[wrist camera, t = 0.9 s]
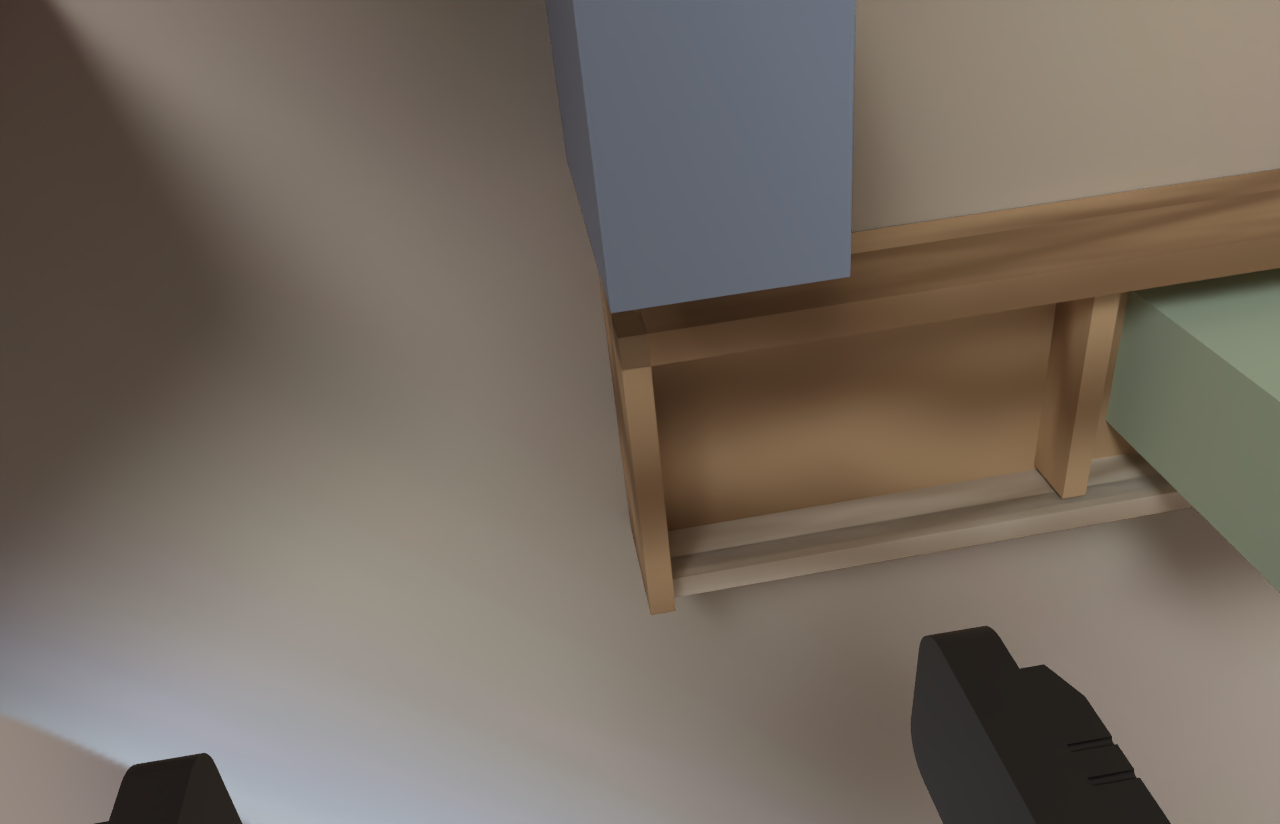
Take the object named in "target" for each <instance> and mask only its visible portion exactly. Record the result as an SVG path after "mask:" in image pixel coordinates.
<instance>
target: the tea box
mask: <svg viewBox="0 0 1280 824" xmlns="http://www.w3.org/2000/svg"><path fill="white" fill-rule="evenodd" d="M545 1H546V9H547V16H548V23H549V31H550V38H551V45H552V53H553V60H554V68H555V75H556V82H557V90H558V97H559V105H560V112H561V119H562V127H563V134H564V142H565V149H566V156H567V162H568V165H569V169H570V172H571V176H572V179H573V183H574V186H575V190H576V193H577V197H578V200H579V204H580V207H581V211H582V214H583V218H584V221H585V225H586V228H587V232H588V235H589V239H590V242H591V246H592V249H593V253H594V256H595V260H596V263H597V267H598V270H599V274H600V277H601V281H602V284H603V288H604V291H605V295H606V298H607V302H608V305H609V309H610V312H611V313H616V312H622V311H629V310H635V309H642V308H649V307H655V306H662V305H668V304H675V303H681V302H688V301H694V300H701V299H707V298H714V297H721V296H727V295H734V294H740V293H747V292H753V291H760V290H766V289H773V288H779V287H786V286H792V285H799V284H806V283H812V282H819V281H825V280H832V279H838V278H845V277H850V268H851V213H852V158H853V103H854V48H855V0H545Z"/></svg>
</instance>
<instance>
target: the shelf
mask: <svg viewBox="0 0 1280 824" xmlns="http://www.w3.org/2000/svg"><path fill="white" fill-rule="evenodd" d="M1276 268H1280V169H1276V170H1269V171H1263V172H1256V173H1249V174H1242V175H1236V176H1229V177H1222V178H1216V179H1209V180H1202V181H1195V182H1189V183H1182V184H1175V185H1169V186H1162V187H1155V188H1148V189H1142V190H1135V191H1128V192H1122V193H1115V194H1108V195H1101V196H1095V197H1088V198H1081V199H1075V200H1068V201H1061V202H1054V203H1048V204H1041V205H1034V206H1027V207H1021V208H1014V209H1007V210H1001V211H994V212H987V213H980V214H974V215H967V216H960V217H954V218H947V219H940V220H933V221H927V222H920V223H913V224H907V225H900V226H893V227H886V228H880V229H873V230H866V231H860V232H853V233H851V268H850V277H845V278H838V279H832V280H825V281H819V282H812V283H806V284H799V285H792V286H786V287H779V288H773V289H766V290H760V291H753V292H747V293H740V294H734V295H727V296H721V297H714V298H707V299H701V300H694V301H688V302H681V303H675V304H668V305H662V306H655V307H649V308H642V309H635V310H629V311H622V312H616V313H611V312H610V309H609V305H608V302H607V298H606V295H605V291H604V288H603V284H602V281H601V277H600V274H599V277H600V285H601V293H602V301H603V309H604V317H605V325H606V332H607V340H608V348H609V356H610V364H611V372H612V380H613V388H614V396H615V404H616V412H617V420H618V428H619V436H620V444H621V452H622V460H623V468H624V476H625V484H626V491H627V499H628V507H629V515H630V523H631V530H632V534H633V539H634V543H635V547H636V552H637V556H638V560H639V565H640V569H641V574H642V578H643V583H644V587H645V592H646V596H647V600H648V604H649V609H650V613H651V615H654V614H660V613H666V612H671V611H676V609H675V599H674V598H676V597H681V596H687V595H693V594H699V593H704V592H710V591H716V590H722V589H727V588H733V587H739V586H744V585H750V584H756V583H762V582H767V581H773V580H779V579H785V578H790V577H796V576H802V575H808V574H813V573H819V572H825V571H830V570H836V569H842V568H848V567H853V566H859V565H865V564H871V563H876V562H882V561H888V560H894V559H899V558H905V557H911V556H917V555H922V554H928V553H934V552H939V551H945V550H951V549H957V548H962V547H968V546H974V545H980V544H985V543H991V542H997V541H1003V540H1008V539H1014V538H1020V537H1025V536H1031V535H1037V534H1043V533H1048V532H1054V531H1060V530H1066V529H1071V528H1077V527H1083V526H1089V525H1094V524H1100V523H1106V522H1111V521H1117V520H1123V519H1129V518H1134V517H1140V516H1146V515H1152V514H1157V513H1163V512H1169V511H1175V510H1180V509H1186V508H1192V507H1193V506H1192V505H1191V504H1190V503H1189V502H1188V501H1187V500H1186V499H1185V498H1184V497H1183V496H1182V495H1181V494H1180V493H1179V492H1178V491H1177V490H1176V489H1175V488H1174V487H1173V486H1172V485H1171V484H1170V483H1169V482H1168V481H1167V480H1166V479H1165V478H1164V477H1163V476H1162V475H1161V474H1160V473H1159V472H1157V471H1156V470H1155V469H1154V468H1153V467H1152V466H1151V465H1150V464H1149V463H1148V462H1147V461H1146V460H1145V459H1144V458H1143V457H1142V456H1141V455H1140V454H1139V453H1138V452H1137V451H1136V450H1135V449H1134V448H1133V447H1132V446H1131V445H1130V444H1129V443H1128V442H1127V441H1126V440H1125V439H1124V438H1123V437H1122V436H1121V435H1120V434H1119V433H1118V432H1117V431H1116V430H1115V429H1114V428H1113V427H1112V426H1111V425H1110V424H1109V423H1108V422H1107V421H1106V415H1107V410H1108V404H1109V399H1110V393H1111V387H1112V382H1113V376H1114V371H1115V365H1116V360H1117V354H1118V348H1119V343H1120V337H1121V332H1122V326H1123V320H1124V315H1125V309H1126V304H1127V298H1128V293H1129V291H1135V290H1142V289H1148V288H1155V287H1161V286H1167V285H1174V284H1180V283H1186V282H1193V281H1199V280H1206V279H1212V278H1218V277H1225V276H1231V275H1238V274H1244V273H1250V272H1257V271H1263V270H1269V269H1276Z"/></svg>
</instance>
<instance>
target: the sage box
mask: <svg viewBox="0 0 1280 824" xmlns="http://www.w3.org/2000/svg"><path fill="white" fill-rule="evenodd" d="M1106 421H1107V422H1108V423H1109V424H1110V425H1111V426H1112V427H1113V428H1114V429H1115V430H1116V431H1117V432H1118V433H1119V434H1120V435H1121V436H1122V437H1123V438H1124V439H1125V440H1126V441H1127V442H1128V443H1129V444H1130V445H1131V446H1132V447H1133V448H1134V449H1135V450H1136V451H1137V452H1138V453H1139V454H1140V455H1141V456H1142V457H1143V458H1144V459H1145V460H1146V461H1147V462H1148V463H1149V464H1150V465H1151V466H1152V467H1153V468H1154V469H1155V470H1156V471H1157V472H1159V473H1160V474H1161V475H1162V476H1163V477H1164V478H1165V479H1166V480H1167V481H1168V482H1169V483H1170V484H1171V485H1172V486H1173V487H1174V488H1175V489H1176V490H1177V491H1178V492H1179V493H1180V494H1181V495H1182V496H1183V497H1184V498H1185V499H1186V500H1187V501H1188V502H1189V503H1190V504H1191V505H1192V506H1193V507H1194V508H1195V509H1196V510H1197V511H1198V512H1199V513H1200V514H1201V515H1202V516H1203V517H1204V518H1205V519H1206V520H1207V521H1208V522H1209V523H1210V524H1211V525H1212V526H1213V527H1214V528H1215V529H1216V530H1217V531H1218V532H1219V533H1220V534H1221V535H1222V536H1223V537H1224V538H1225V539H1226V540H1227V541H1228V542H1229V543H1230V544H1231V545H1232V546H1233V547H1234V548H1235V549H1236V550H1237V551H1238V552H1239V553H1240V554H1241V555H1242V556H1243V557H1244V558H1245V559H1246V560H1247V561H1248V562H1249V563H1250V564H1251V565H1252V566H1253V567H1255V568H1256V569H1257V570H1258V571H1259V572H1260V573H1261V574H1262V575H1263V576H1264V577H1265V578H1266V579H1267V580H1268V581H1269V582H1270V583H1271V584H1272V585H1273V586H1274V587H1275V588H1276V589H1277V590H1278V591H1279V592H1280V268H1276V269H1269V270H1263V271H1257V272H1250V273H1244V274H1238V275H1231V276H1225V277H1218V278H1212V279H1206V280H1199V281H1193V282H1186V283H1180V284H1174V285H1167V286H1161V287H1155V288H1148V289H1142V290H1135V291H1129V293H1128V298H1127V304H1126V309H1125V315H1124V320H1123V326H1122V332H1121V337H1120V343H1119V348H1118V354H1117V360H1116V365H1115V371H1114V376H1113V382H1112V387H1111V393H1110V399H1109V404H1108V410H1107V415H1106Z"/></svg>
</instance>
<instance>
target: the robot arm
mask: <svg viewBox="0 0 1280 824" xmlns="http://www.w3.org/2000/svg"><path fill="white" fill-rule="evenodd" d="M911 736H912V743H913V749H914V753H915V757H916V761H917V764H918V768H919V770H920V773H921V776H922V778H923V780H924V783H925V785H926V787H927V789H928V791H929V793H930V796H931V798H932V800H933V802H934V804H935V806H936V809H937V811H938V813H939V815H940V817H941V819H942V822H943V824H1171V823H1170V822H1169V820H1168V819H1167V817H1166V816H1165V814H1164V813H1163V811H1162V810H1161V808H1160V807H1159V805H1158V804H1157V802H1156V801H1155V800H1154V798H1153V797H1152V795H1151V794H1150V792H1149V791H1148V789H1147V788H1146V786H1145V785H1144V783H1143V782H1142V780H1141V779H1140V778H1136V776H1135V774H1134V768H1133V767H1132V765H1131V764H1130V763H1129V761H1128V760H1127V758H1126V757H1125V755H1124V754H1123V752H1122V751H1121V749H1120V748H1119V746H1118V745H1117V744H1116V745H1114V743H1113V741H1112V736H1111V734H1110V733H1109V731H1108V730H1107V728H1106V727H1105V725H1104V724H1103V723H1102V721H1101V720H1100V718H1099V717H1098V715H1097V714H1096V712H1095V711H1094V709H1093V708H1092V706H1091V705H1090V703H1089V702H1088V700H1087V699H1086V697H1085V696H1084V695H1082V694H1081V693H1080V692H1079V691H1077V690H1076V689H1075V688H1073V687H1072V686H1071V685H1070V684H1068V683H1067V682H1066V681H1064V680H1063V679H1062V678H1061V677H1059V676H1058V675H1057V674H1056V673H1054V672H1053V671H1052V670H1050V669H1049V668H1048V667H1047V666H1045V665H1039V666H1033V667H1027V668H1021V669H1019V667H1018V666H1017V664H1016V662H1015V661H1014V659H1013V658H1012V656H1011V654H1010V653H1009V651H1008V650H1007V648H1006V646H1005V645H1004V643H1003V642H1002V640H1001V639H1000V637H999V636H998V634H997V633H996V632H995V631H994V630H993V629H992V628H990V627H988V626H982V627H976V628H970V629H964V630H958V631H952V632H946V633H940V634H934V635H928V636H924V637H923V638H922V640H921V642H920V647H919V654H918V663H917V672H916V681H915V690H914V699H913V708H912V716H911ZM96 824H242V822H241V820H240V818H239V816H238V813H237V811H236V809H235V807H234V804H233V802H232V800H231V798H230V796H229V793H228V791H227V789H226V787H225V785H224V782H223V780H222V778H221V776H220V774H219V771H218V769H217V767H216V765H215V763H214V761H213V759H212V758H211V757H210V756H209V755H208V754H206V753H201V754H195V755H189V756H183V757H177V758H171V759H165V760H159V761H153V762H147V763H141V764H136V765H133V766H132V767H130V768H129V769H128V771H127V772H126V774H125V776H124V777H123V780H122V783H121V786H120V789H119V792H118V795H117V798H116V801H115V804H114V807H113V810H112V813H111V816H110V819H109V821H108V822H102V823H96Z"/></svg>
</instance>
